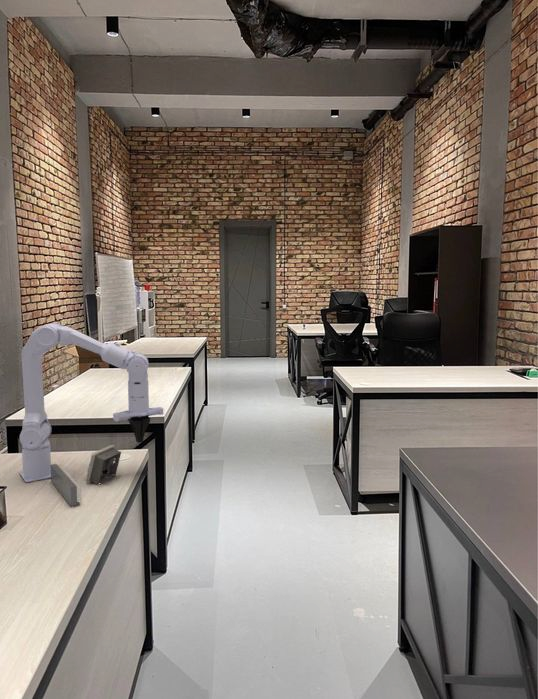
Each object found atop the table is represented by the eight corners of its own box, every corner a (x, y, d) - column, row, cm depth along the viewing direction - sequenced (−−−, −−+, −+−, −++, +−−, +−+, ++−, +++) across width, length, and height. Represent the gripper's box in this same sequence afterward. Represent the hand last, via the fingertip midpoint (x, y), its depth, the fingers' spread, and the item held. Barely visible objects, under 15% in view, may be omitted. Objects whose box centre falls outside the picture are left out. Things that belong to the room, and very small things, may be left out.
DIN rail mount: (51, 482, 148) (50, 464, 147) (60, 480, 149) (59, 463, 149) (71, 506, 132) (70, 487, 131) (81, 504, 133) (80, 485, 133)
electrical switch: (106, 473, 156) (108, 442, 154) (121, 477, 154) (123, 446, 153) (85, 484, 147) (86, 452, 146) (100, 488, 145) (102, 456, 144)
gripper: (118, 401, 146) (120, 449, 148) (167, 395, 155) (168, 440, 157) (110, 396, 152) (111, 443, 154) (157, 391, 161) (158, 435, 162)
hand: (139, 441), depth 156 cm, fingers closed
